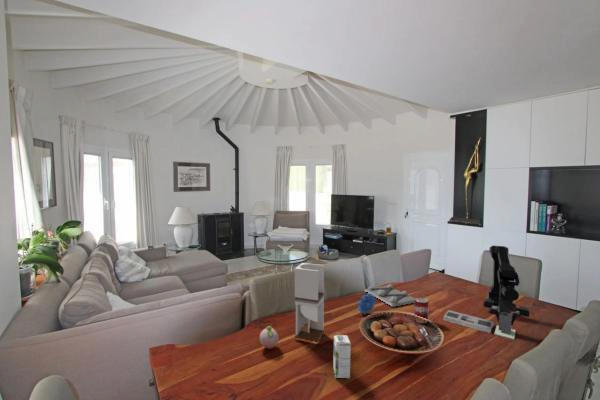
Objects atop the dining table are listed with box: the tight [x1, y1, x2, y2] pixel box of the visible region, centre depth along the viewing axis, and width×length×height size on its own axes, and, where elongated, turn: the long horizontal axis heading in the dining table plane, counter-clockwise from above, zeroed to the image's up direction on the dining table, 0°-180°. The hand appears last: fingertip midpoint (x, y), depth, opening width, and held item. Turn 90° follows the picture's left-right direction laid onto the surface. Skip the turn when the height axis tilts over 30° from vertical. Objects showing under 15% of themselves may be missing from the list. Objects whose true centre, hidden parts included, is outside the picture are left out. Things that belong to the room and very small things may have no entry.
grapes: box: [357, 293, 377, 314], centre depth 168 cm, size 12×7×12 cm, turn 109°
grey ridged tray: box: [363, 283, 416, 308], centre depth 192 cm, size 30×22×7 cm
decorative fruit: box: [259, 325, 279, 350], centre depth 131 cm, size 9×8×10 cm
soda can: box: [413, 297, 430, 320], centre depth 157 cm, size 7×7×12 cm
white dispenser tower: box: [294, 262, 325, 342], centre depth 140 cm, size 11×11×35 cm
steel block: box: [498, 312, 513, 333], centre depth 145 cm, size 5×5×8 cm
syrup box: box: [332, 334, 352, 379], centre depth 113 cm, size 6×6×14 cm
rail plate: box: [442, 309, 494, 334], centre depth 156 cm, size 11×22×2 cm, turn 50°
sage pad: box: [493, 324, 516, 341], centre depth 146 cm, size 11×8×1 cm
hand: (505, 323), depth 145 cm, fingers closed on steel block, 5 cm apart
